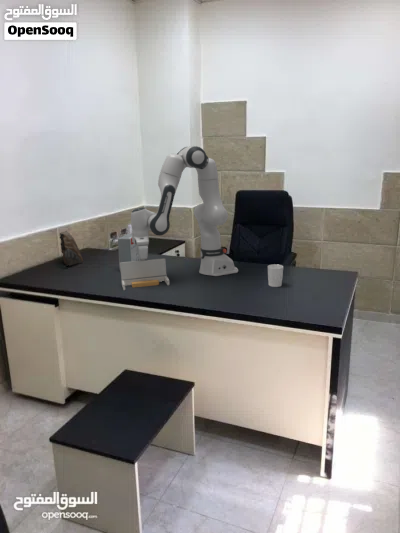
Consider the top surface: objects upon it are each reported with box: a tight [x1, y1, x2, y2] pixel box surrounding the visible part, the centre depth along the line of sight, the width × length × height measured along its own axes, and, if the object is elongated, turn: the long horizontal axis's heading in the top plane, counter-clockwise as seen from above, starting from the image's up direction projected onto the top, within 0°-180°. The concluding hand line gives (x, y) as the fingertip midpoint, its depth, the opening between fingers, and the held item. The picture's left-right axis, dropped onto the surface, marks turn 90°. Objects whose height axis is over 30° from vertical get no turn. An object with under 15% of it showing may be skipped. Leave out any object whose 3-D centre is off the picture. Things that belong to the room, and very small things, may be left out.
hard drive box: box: [117, 233, 140, 272], centre depth 251 cm, size 16×8×20 cm, turn 168°
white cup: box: [267, 263, 284, 288], centre depth 215 cm, size 8×8×10 cm
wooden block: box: [131, 280, 160, 289], centre depth 221 cm, size 14×3×2 cm, turn 104°
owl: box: [59, 230, 84, 266], centre depth 268 cm, size 13×13×20 cm
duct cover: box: [119, 258, 167, 281], centre depth 223 cm, size 24×9×1 cm
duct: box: [121, 275, 170, 291], centre depth 221 cm, size 24×8×3 cm, turn 105°
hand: (142, 263), depth 227 cm, fingers closed
